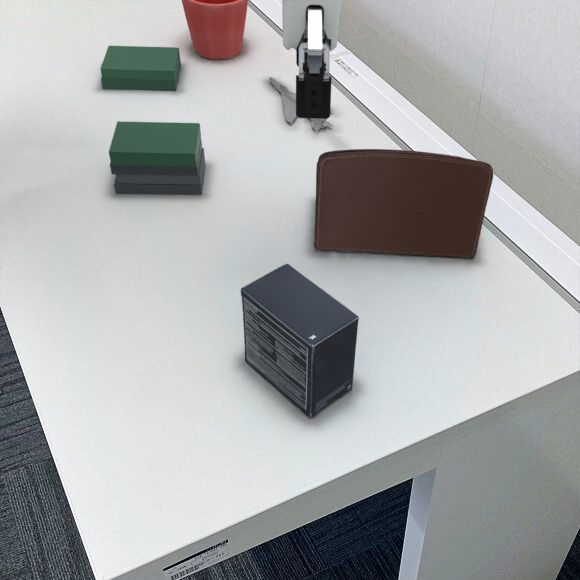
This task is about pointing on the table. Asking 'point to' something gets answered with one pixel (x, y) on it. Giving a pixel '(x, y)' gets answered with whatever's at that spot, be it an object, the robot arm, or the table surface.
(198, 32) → the flower pot
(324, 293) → the small box
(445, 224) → the letter holder
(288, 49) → the robot arm
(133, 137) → the green book
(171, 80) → the green book stack
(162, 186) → the grey book stack
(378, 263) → the table surface
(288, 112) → the toy airplane
